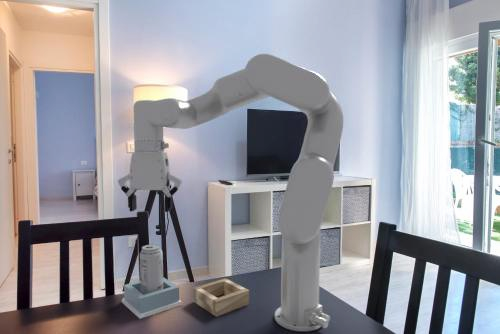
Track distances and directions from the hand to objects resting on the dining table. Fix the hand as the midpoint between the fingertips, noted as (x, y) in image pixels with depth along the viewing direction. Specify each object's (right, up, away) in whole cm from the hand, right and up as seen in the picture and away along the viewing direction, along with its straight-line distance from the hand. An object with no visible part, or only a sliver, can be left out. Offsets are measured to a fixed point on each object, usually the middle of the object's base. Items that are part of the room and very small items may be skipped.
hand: (150, 210), depth 97 cm
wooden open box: (+19, -26, +3) cm, 32 cm away
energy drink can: (0, -25, +2) cm, 25 cm away
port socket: (0, -26, +2) cm, 26 cm away
